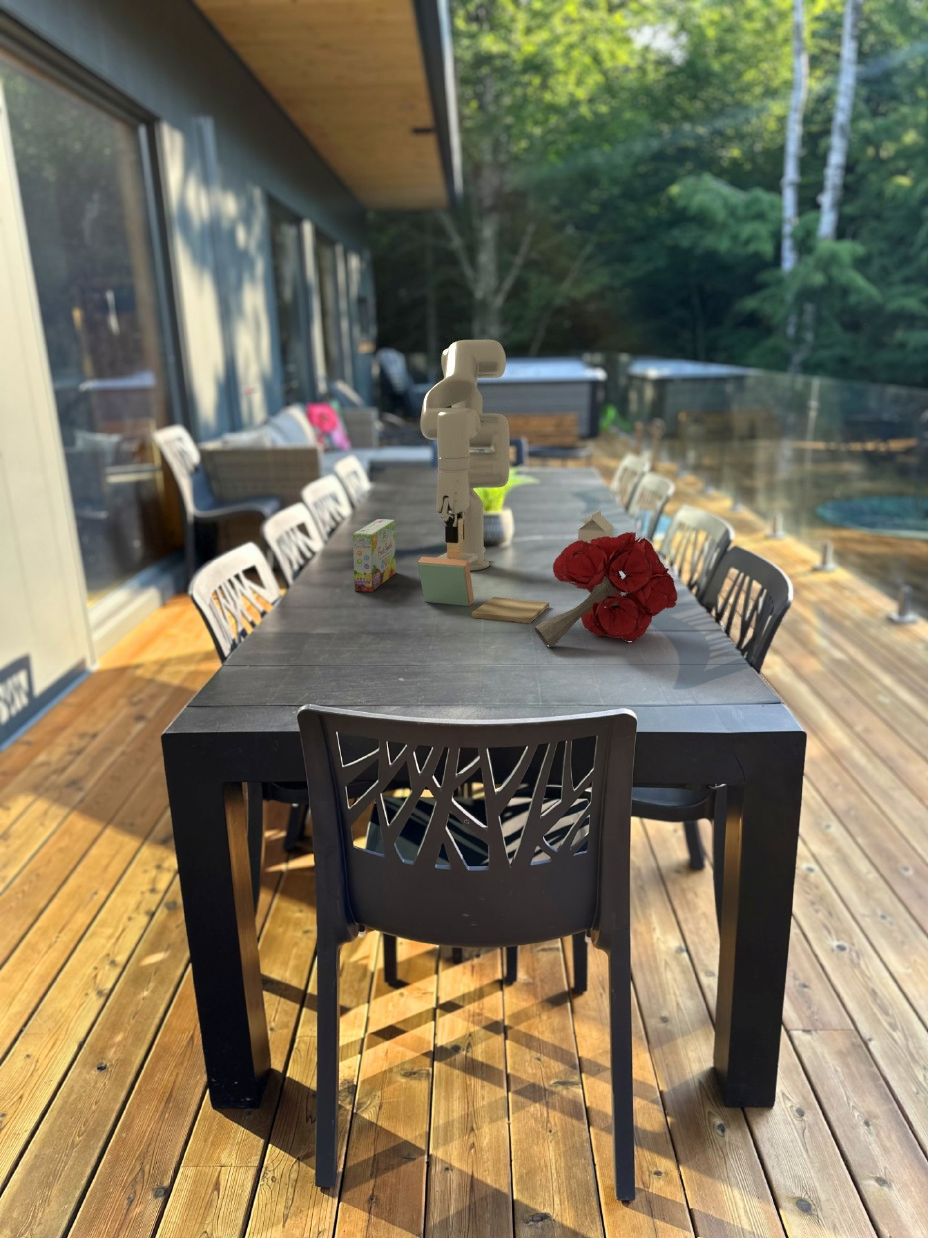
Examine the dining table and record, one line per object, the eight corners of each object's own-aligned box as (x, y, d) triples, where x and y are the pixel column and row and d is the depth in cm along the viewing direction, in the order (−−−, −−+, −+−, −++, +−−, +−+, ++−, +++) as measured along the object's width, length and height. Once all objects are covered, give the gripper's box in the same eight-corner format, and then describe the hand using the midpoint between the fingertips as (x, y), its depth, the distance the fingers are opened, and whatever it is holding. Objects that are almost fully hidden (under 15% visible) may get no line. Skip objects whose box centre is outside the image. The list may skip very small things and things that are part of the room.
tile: (428, 595, 222) (421, 556, 216) (474, 600, 218) (468, 560, 212) (423, 602, 220) (417, 562, 214) (469, 606, 215) (464, 566, 209)
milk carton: (611, 583, 234) (614, 510, 228) (603, 590, 227) (606, 515, 222) (585, 581, 237) (587, 509, 231) (576, 587, 230) (578, 513, 225)
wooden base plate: (493, 601, 219) (493, 596, 218) (548, 607, 213) (549, 602, 213) (471, 617, 206) (471, 612, 206) (530, 623, 201) (530, 618, 201)
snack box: (374, 592, 228) (372, 533, 224) (353, 591, 230) (350, 533, 225) (397, 572, 248) (395, 518, 244) (377, 572, 249) (375, 517, 245)
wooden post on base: (448, 556, 226) (447, 514, 223) (478, 558, 223) (477, 516, 220) (431, 564, 217) (431, 521, 214) (462, 567, 214) (462, 523, 211)
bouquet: (589, 695, 177) (710, 609, 181) (530, 598, 170) (658, 510, 173) (550, 667, 198) (659, 590, 201) (496, 579, 190) (611, 501, 193)
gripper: (452, 460, 222) (453, 534, 227) (424, 468, 207) (426, 546, 212) (481, 461, 219) (481, 535, 224) (455, 469, 205) (456, 549, 210)
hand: (454, 540), depth 218 cm, fingers closed on wooden post on base, 3 cm apart
